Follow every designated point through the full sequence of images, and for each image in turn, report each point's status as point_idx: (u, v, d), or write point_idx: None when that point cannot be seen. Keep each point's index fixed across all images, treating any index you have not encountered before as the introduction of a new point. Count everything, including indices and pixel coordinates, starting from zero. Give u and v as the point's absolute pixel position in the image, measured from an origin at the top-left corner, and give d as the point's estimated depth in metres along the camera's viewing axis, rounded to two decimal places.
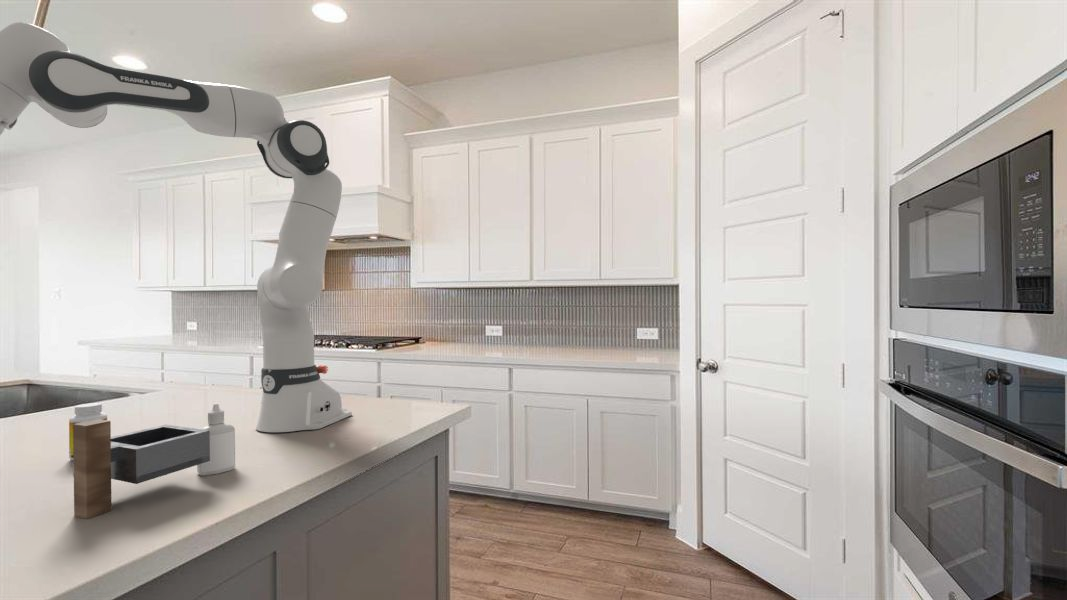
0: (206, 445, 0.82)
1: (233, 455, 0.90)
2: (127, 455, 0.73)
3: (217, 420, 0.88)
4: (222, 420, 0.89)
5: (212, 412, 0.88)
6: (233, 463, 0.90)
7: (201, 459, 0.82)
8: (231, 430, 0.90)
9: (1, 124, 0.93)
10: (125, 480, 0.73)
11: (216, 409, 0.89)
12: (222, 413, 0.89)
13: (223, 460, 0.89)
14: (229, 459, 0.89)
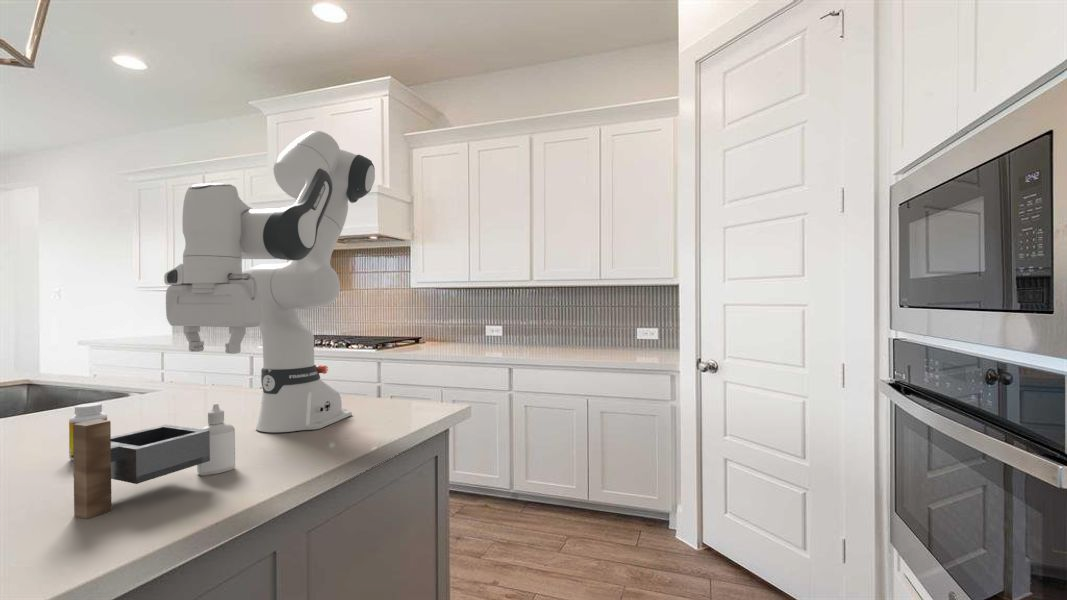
0: (206, 445, 0.82)
1: (233, 455, 0.90)
2: (127, 455, 0.73)
3: (217, 420, 0.88)
4: (222, 420, 0.89)
5: (212, 412, 0.88)
6: (233, 463, 0.90)
7: (201, 459, 0.82)
8: (231, 430, 0.90)
9: None
10: (125, 480, 0.73)
11: (216, 409, 0.89)
12: (222, 413, 0.89)
13: (223, 460, 0.89)
14: (229, 459, 0.89)
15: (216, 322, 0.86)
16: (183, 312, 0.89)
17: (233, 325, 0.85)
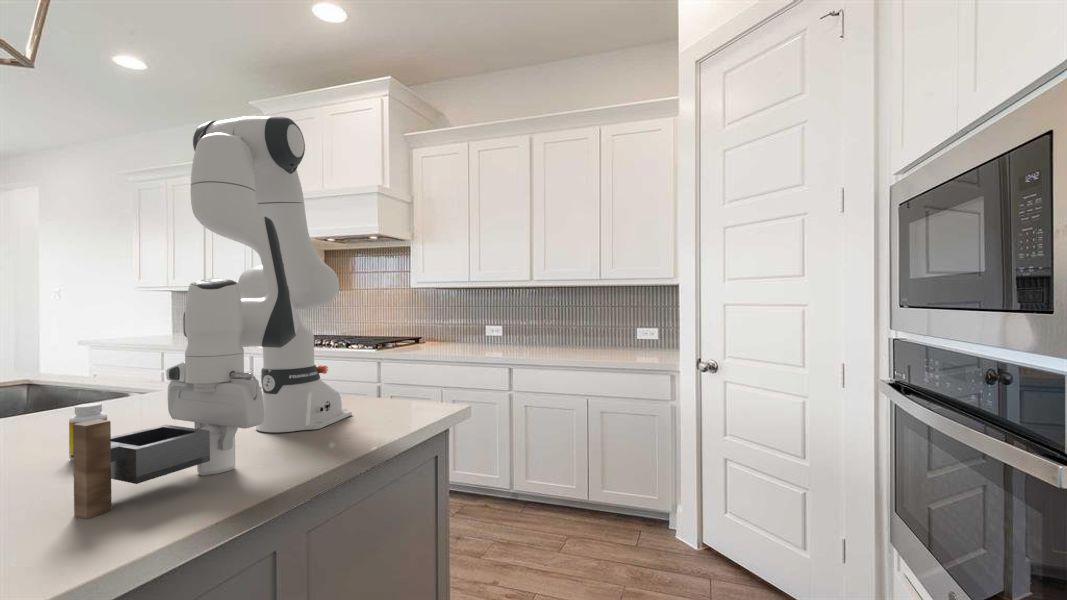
0: (206, 445, 0.82)
1: (233, 455, 0.90)
2: (127, 455, 0.73)
3: None
4: None
5: None
6: (233, 463, 0.90)
7: (201, 459, 0.82)
8: None
9: None
10: (125, 480, 0.73)
11: None
12: None
13: (223, 460, 0.89)
14: (229, 459, 0.89)
15: (218, 421, 0.86)
16: (185, 408, 0.90)
17: (235, 426, 0.85)
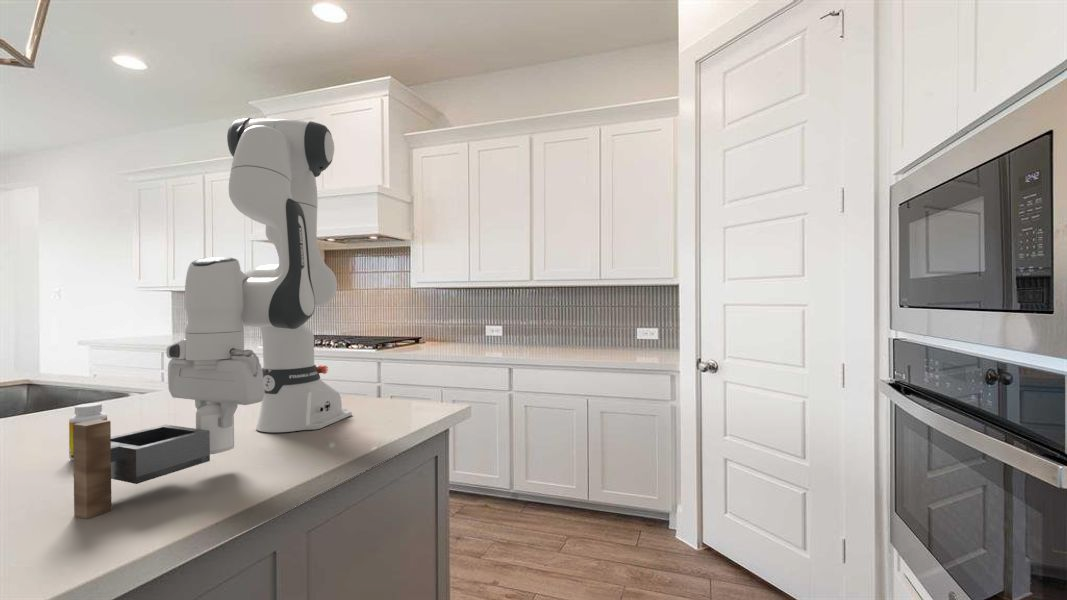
0: (206, 445, 0.82)
1: (232, 435, 0.90)
2: (127, 455, 0.73)
3: None
4: None
5: None
6: (232, 443, 0.90)
7: (201, 459, 0.82)
8: None
9: None
10: (125, 480, 0.73)
11: None
12: None
13: (223, 440, 0.89)
14: (228, 439, 0.89)
15: (218, 398, 0.86)
16: (185, 386, 0.90)
17: (235, 402, 0.85)
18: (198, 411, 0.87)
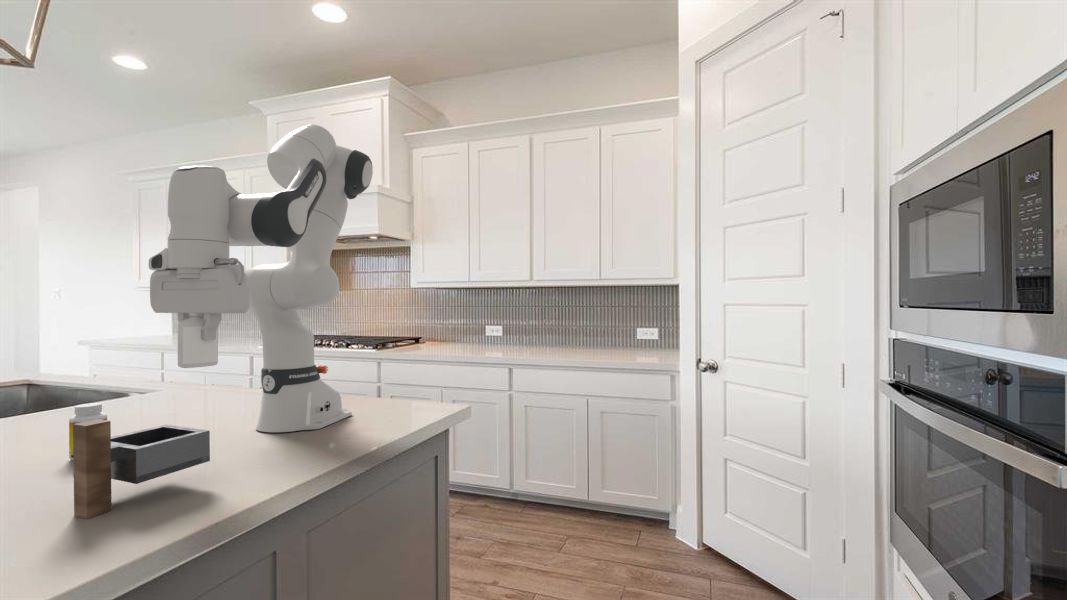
0: (206, 445, 0.82)
1: (216, 350, 0.87)
2: (127, 455, 0.73)
3: None
4: None
5: None
6: (216, 359, 0.87)
7: (201, 459, 0.82)
8: None
9: None
10: (125, 480, 0.73)
11: None
12: None
13: (206, 354, 0.86)
14: (211, 354, 0.86)
15: (201, 308, 0.84)
16: (168, 299, 0.87)
17: (219, 311, 0.82)
18: (180, 322, 0.84)
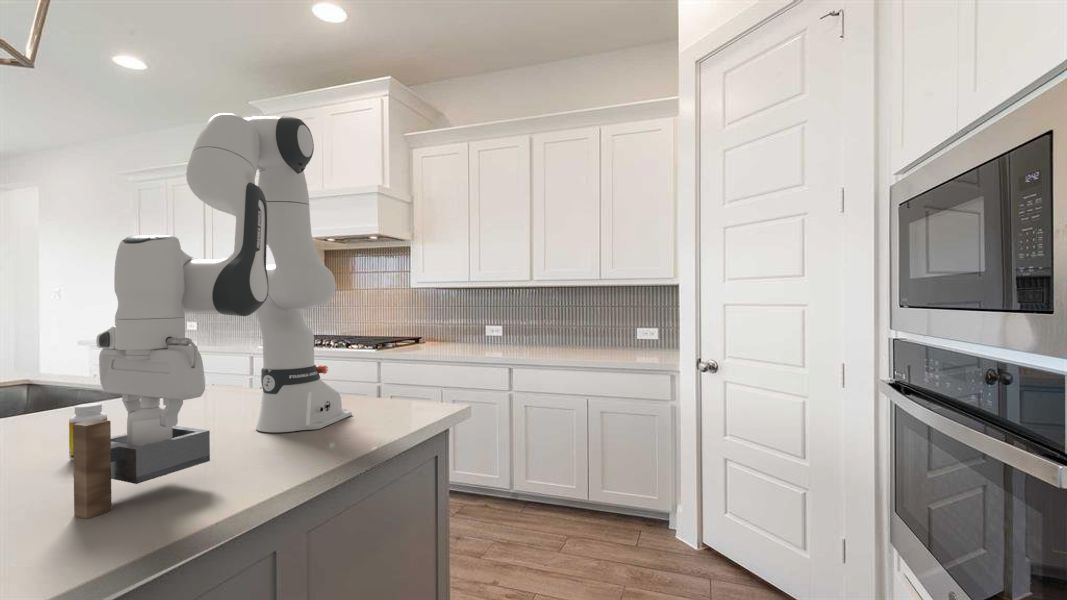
0: (206, 445, 0.82)
1: None
2: (127, 455, 0.73)
3: (152, 403, 0.79)
4: (157, 403, 0.79)
5: None
6: None
7: (201, 459, 0.82)
8: None
9: None
10: (125, 480, 0.73)
11: None
12: None
13: None
14: None
15: (152, 393, 0.77)
16: (118, 379, 0.80)
17: (170, 397, 0.75)
18: (130, 416, 0.77)
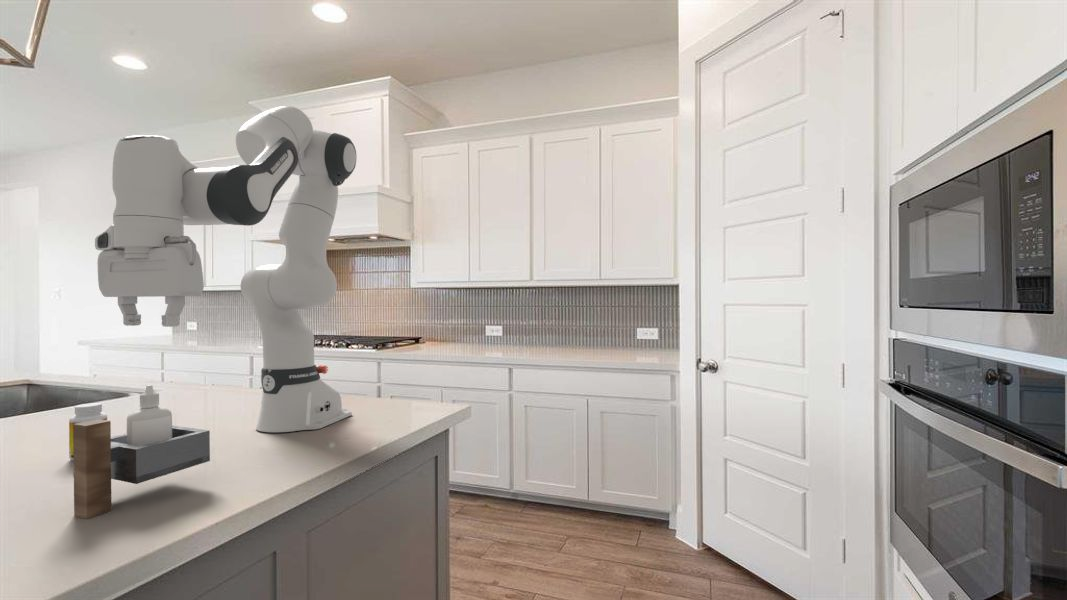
0: (206, 445, 0.82)
1: None
2: (127, 455, 0.73)
3: (151, 403, 0.79)
4: (157, 403, 0.80)
5: (145, 394, 0.79)
6: None
7: (201, 459, 0.82)
8: (168, 414, 0.80)
9: None
10: (125, 480, 0.73)
11: (150, 391, 0.79)
12: (157, 395, 0.80)
13: None
14: None
15: (151, 291, 0.77)
16: (116, 281, 0.80)
17: (169, 294, 0.75)
18: (129, 416, 0.78)
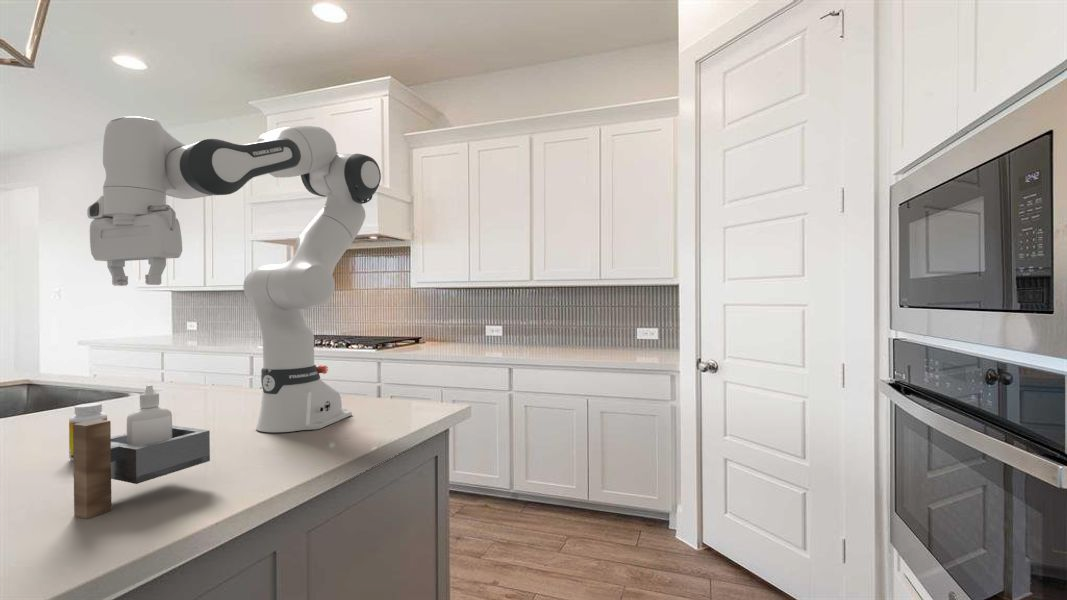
0: (206, 445, 0.82)
1: None
2: (127, 455, 0.73)
3: (151, 403, 0.79)
4: (157, 403, 0.80)
5: (145, 394, 0.79)
6: None
7: (201, 459, 0.82)
8: (168, 414, 0.80)
9: None
10: (125, 480, 0.73)
11: (150, 391, 0.79)
12: (157, 395, 0.80)
13: None
14: None
15: (136, 253, 0.87)
16: (106, 246, 0.90)
17: (151, 255, 0.86)
18: (129, 416, 0.78)
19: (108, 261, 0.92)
